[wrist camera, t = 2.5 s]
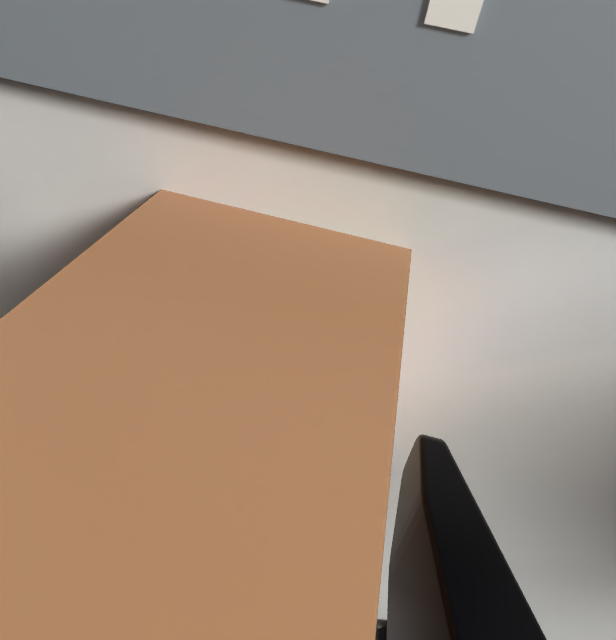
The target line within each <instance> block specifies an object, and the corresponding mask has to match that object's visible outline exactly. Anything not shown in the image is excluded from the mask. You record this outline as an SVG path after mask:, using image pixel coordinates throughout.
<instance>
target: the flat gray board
mask: <svg viewBox="0 0 616 640" xmlns="http://www.w3.org/2000/svg"><path fill="white" fill-rule="evenodd" d="M0 77H1V78H5V79H10V80H14V81H18V82H23V83H27V84H31V85H36V86H40V87H44V88H49V89H53V90H58V91H62V92H66V93H71V94H75V95H79V96H84V97H88V98H93V99H97V100H101V101H106V102H110V103H114V104H119V105H123V106H127V107H132V108H136V109H141V110H145V111H149V112H154V113H158V114H162V115H167V116H171V117H175V118H180V119H184V120H189V121H193V122H197V123H202V124H206V125H210V126H215V127H219V128H224V129H228V130H232V131H237V132H241V133H245V134H250V135H254V136H258V137H263V138H267V139H272V140H276V141H280V142H285V143H289V144H293V145H298V146H302V147H307V148H311V149H315V150H320V151H324V152H328V153H333V154H337V155H341V156H346V157H350V158H355V159H359V160H363V161H368V162H372V163H376V164H381V165H385V166H389V167H394V168H398V169H403V170H407V171H411V172H416V173H420V174H424V175H429V176H433V177H438V178H442V179H446V180H451V181H455V182H459V183H464V184H468V185H472V186H477V187H481V188H486V189H490V190H494V191H499V192H503V193H507V194H512V195H516V196H521V197H525V198H529V199H534V200H538V201H542V202H547V203H551V204H555V205H560V206H564V207H569V208H573V209H577V210H582V211H586V212H590V213H595V214H599V215H603V216H608V217H612V218H616V0H0Z"/></svg>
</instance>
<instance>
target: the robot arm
mask: <svg viewBox="0 0 616 640" xmlns="http://www.w3.org/2000/svg"><path fill="white" fill-rule="evenodd" d="M375 640H546V638H545V636H544V634H543V632H542V630H541V628H540V626H539V624H538V622H537V620H536V618H535V616H534V614H533V612H532V610H531V608H530V606H529V604H528V602H527V601H526V599H525V597H524V595H523V593H522V591H521V589H520V587H519V585H518V583H517V581H516V579H515V577H514V575H513V573H512V571H511V569H510V567H509V565H508V563H507V561H506V560H505V558H504V556H503V554H502V552H501V550H500V548H499V546H498V544H497V542H496V540H495V538H494V536H493V534H492V532H491V530H490V528H489V526H488V524H487V522H486V520H485V519H484V517H483V515H482V513H481V511H480V509H479V507H478V505H477V503H476V501H475V499H474V497H473V495H472V493H471V491H470V489H469V487H468V485H467V483H466V481H465V480H464V478H463V476H462V474H461V472H460V470H459V468H458V466H457V464H456V462H455V460H454V458H453V456H452V454H451V452H450V450H449V448H448V446H447V444H446V443H445V442H444V441H443V440H441V439H438V438H434V437H430V436H427V435H419V436H418V437H417V439H416V441H415V443H414V446H413V448H412V450H411V452H410V455H409V457H408V459H407V462H406V464H405V467H404V470H403V475H402V480H401V487H400V494H399V501H398V507H397V514H396V521H395V528H394V534H393V541H392V548H391V556H390V564H389V580H388V614H387V627H383V628H379V629H378V630H377V631H376V636H375Z"/></svg>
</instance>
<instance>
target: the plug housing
mask: <svg viewBox="0 0 616 640" xmlns="http://www.w3.org/2000/svg"><path fill="white" fill-rule="evenodd" d="M411 251H412V250H411V249H407V248H403V247H399V246H395V245H390V244H386V243H382V242H378V241H374V240H370V239H365V238H361V237H357V236H353V235H349V234H345V233H340V232H336V231H332V230H328V229H324V228H320V227H315V226H311V225H307V224H303V223H299V222H295V221H290V220H286V219H282V218H278V217H274V216H270V215H265V214H261V213H257V212H253V211H249V210H245V209H240V208H236V207H232V206H228V205H224V204H220V203H215V202H211V201H207V200H203V199H199V198H195V197H190V196H186V195H182V194H178V193H174V192H170V191H165V190H160V191H159V192H157V193H156V194H155V195H154V196H152V197H151V198H150V199H149V200H147V201H146V202H145V203H144V204H142V205H141V206H140V207H139V208H137V209H136V210H135V211H134V212H133V213H131V214H130V215H129V216H128V217H126V218H125V219H124V220H123V221H121V222H120V223H119V224H118V225H116V226H115V227H114V228H113V229H111V230H110V231H109V232H108V233H106V234H105V235H104V236H103V237H101V238H100V239H99V240H98V241H97V242H95V243H94V244H93V245H92V246H90V247H89V248H88V249H87V250H85V251H84V252H83V253H82V254H80V255H79V256H78V257H77V258H75V259H74V260H73V261H72V262H70V263H69V264H68V265H67V266H65V267H64V268H63V269H62V270H61V271H59V272H58V273H57V274H56V275H54V276H53V277H52V278H51V279H49V280H48V281H47V282H46V283H44V284H43V285H42V286H41V287H39V288H38V289H37V290H36V291H34V292H33V293H32V294H31V295H29V296H28V297H27V298H26V299H25V300H23V301H22V302H21V303H20V304H18V305H17V306H16V307H15V308H13V309H12V310H11V311H10V312H8V313H7V314H6V315H5V316H3V317H2V318H1V319H0V640H375V636H376V625H377V615H378V604H379V593H380V582H381V572H382V561H383V550H384V540H385V529H386V518H387V508H388V497H389V486H390V476H391V465H392V454H393V443H394V433H395V422H396V411H397V401H398V390H399V379H400V369H401V358H402V347H403V336H404V326H405V315H406V304H407V294H408V283H409V272H410V262H411Z"/></svg>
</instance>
